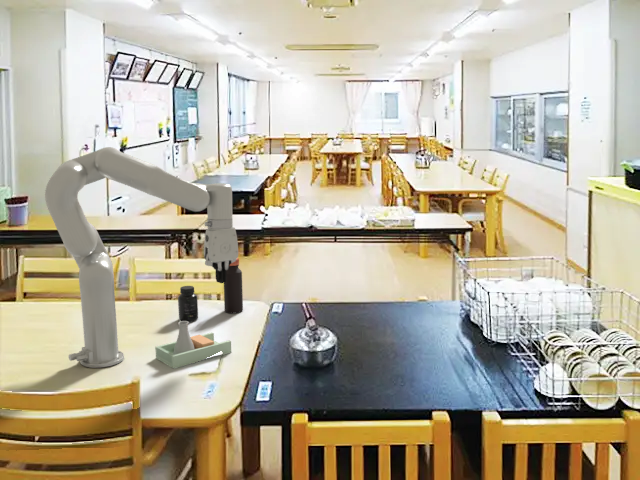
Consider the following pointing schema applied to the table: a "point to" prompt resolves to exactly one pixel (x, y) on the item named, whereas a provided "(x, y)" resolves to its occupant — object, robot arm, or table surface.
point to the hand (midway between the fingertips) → (221, 282)
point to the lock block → (201, 341)
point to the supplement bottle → (187, 304)
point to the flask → (183, 339)
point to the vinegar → (233, 289)
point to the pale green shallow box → (190, 352)
